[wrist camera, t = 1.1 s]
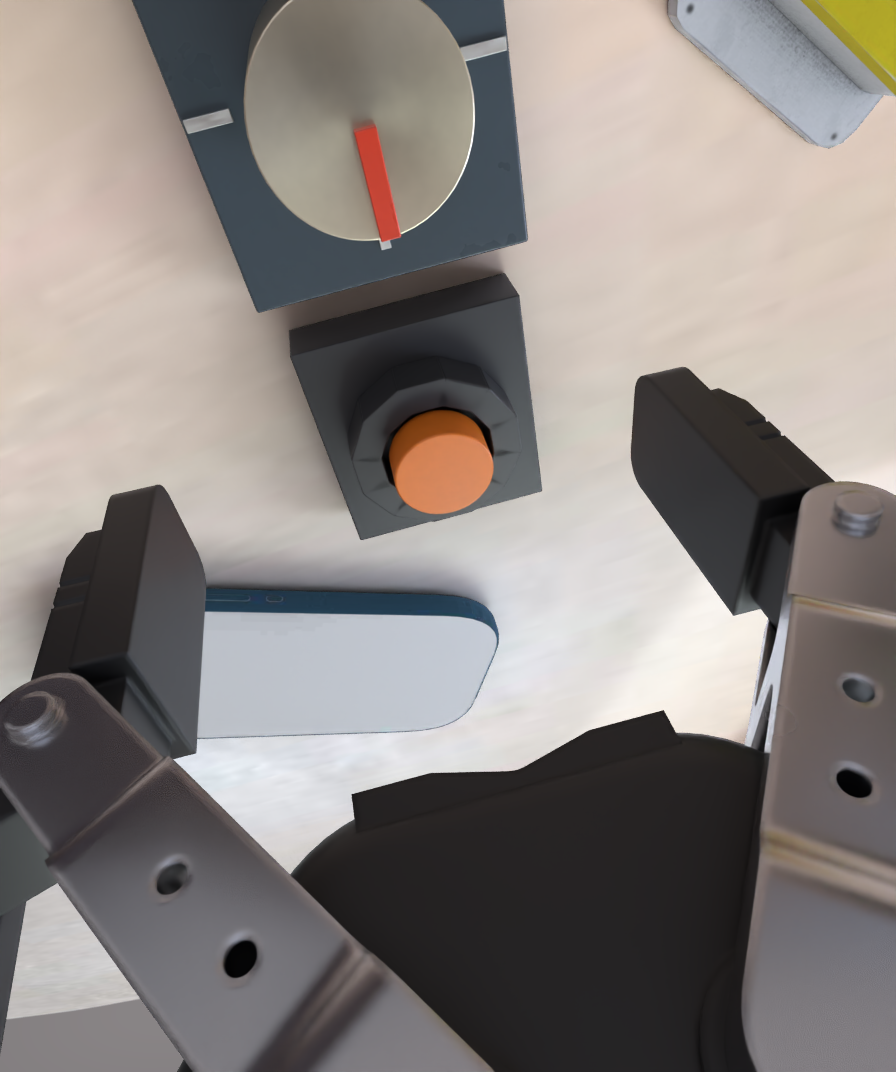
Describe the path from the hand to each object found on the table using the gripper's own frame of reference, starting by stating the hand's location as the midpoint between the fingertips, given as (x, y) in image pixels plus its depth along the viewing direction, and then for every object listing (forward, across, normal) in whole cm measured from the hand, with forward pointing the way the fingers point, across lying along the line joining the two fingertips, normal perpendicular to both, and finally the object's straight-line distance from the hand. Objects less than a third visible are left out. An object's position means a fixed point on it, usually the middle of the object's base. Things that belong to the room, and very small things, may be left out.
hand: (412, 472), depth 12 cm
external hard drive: (+18, +8, +24) cm, 31 cm away
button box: (+18, -2, +9) cm, 20 cm away
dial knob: (+15, -1, -4) cm, 15 cm away
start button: (+14, -2, +9) cm, 17 cm away
